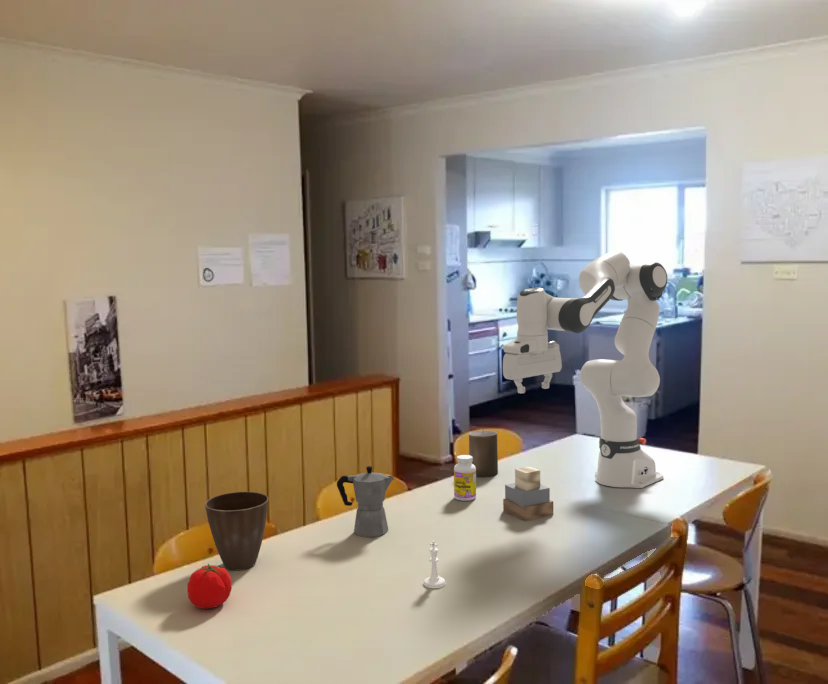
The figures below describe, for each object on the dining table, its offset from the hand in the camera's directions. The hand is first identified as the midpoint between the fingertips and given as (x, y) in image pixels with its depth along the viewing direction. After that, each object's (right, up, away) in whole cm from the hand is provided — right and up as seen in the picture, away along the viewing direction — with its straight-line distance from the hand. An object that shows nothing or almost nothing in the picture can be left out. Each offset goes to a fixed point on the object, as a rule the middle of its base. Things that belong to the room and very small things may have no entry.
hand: (533, 390), depth 227 cm
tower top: (-3, -31, -7) cm, 32 cm away
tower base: (-3, -35, -7) cm, 35 cm away
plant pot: (-77, -40, -39) cm, 95 cm away
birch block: (-3, -27, -8) cm, 28 cm away
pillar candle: (-12, -30, +34) cm, 47 cm away
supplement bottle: (-20, -33, +7) cm, 39 cm away
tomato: (-79, -43, -60) cm, 108 cm away
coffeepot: (-48, -37, -19) cm, 63 cm away
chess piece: (-30, -40, -53) cm, 73 cm away
